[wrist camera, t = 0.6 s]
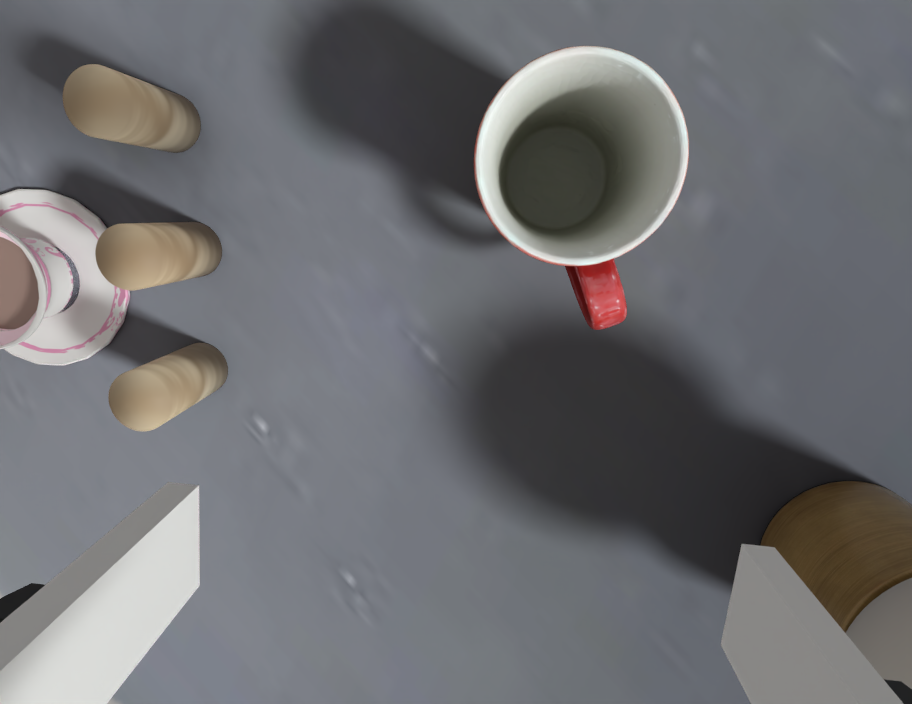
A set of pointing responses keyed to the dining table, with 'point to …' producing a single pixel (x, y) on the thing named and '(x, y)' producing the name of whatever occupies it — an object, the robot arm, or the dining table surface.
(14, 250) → the teacup
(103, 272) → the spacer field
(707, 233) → the dining table surface
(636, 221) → the mug
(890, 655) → the lamp
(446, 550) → the dining table surface
